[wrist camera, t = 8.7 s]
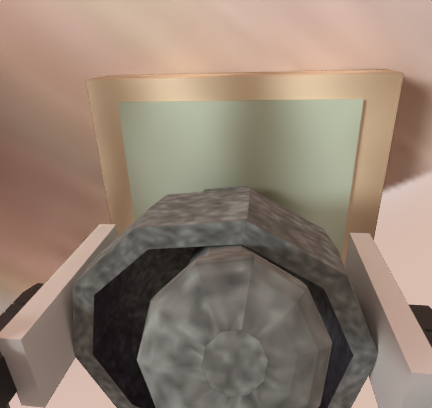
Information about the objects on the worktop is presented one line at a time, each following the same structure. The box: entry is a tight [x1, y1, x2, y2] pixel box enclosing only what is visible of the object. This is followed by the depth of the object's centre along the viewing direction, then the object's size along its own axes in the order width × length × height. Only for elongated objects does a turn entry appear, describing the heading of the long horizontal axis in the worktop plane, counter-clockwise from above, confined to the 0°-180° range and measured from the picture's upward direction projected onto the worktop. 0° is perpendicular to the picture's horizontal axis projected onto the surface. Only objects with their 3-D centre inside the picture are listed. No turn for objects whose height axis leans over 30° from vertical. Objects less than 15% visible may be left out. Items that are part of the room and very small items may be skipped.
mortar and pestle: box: [73, 186, 378, 408], centre depth 12 cm, size 11×9×12 cm
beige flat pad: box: [86, 69, 404, 266], centre depth 19 cm, size 14×14×3 cm
